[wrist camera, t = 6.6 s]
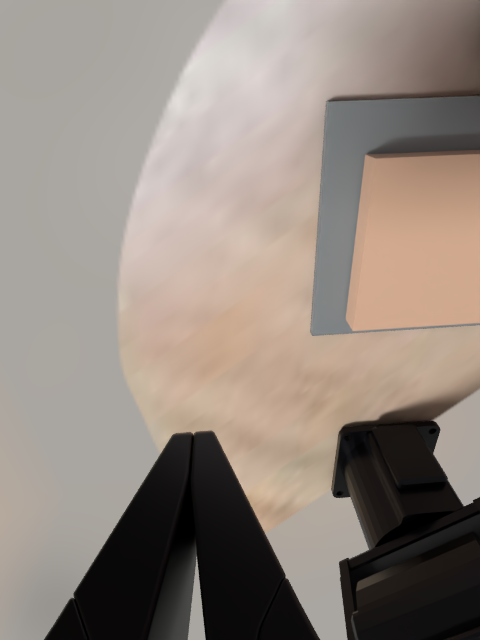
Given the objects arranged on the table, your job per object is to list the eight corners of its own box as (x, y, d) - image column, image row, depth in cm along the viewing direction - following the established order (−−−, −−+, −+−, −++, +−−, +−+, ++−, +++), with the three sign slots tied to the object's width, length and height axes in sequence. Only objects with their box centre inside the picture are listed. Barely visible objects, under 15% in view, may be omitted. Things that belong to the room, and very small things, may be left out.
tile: (344, 317, 21) (473, 309, 21) (352, 331, 19) (489, 322, 20) (364, 153, 17) (523, 146, 17) (375, 158, 15) (546, 150, 16)
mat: (487, 320, 22) (492, 324, 21) (310, 332, 21) (312, 335, 21) (562, 92, 16) (570, 92, 16) (326, 101, 16) (328, 101, 16)
